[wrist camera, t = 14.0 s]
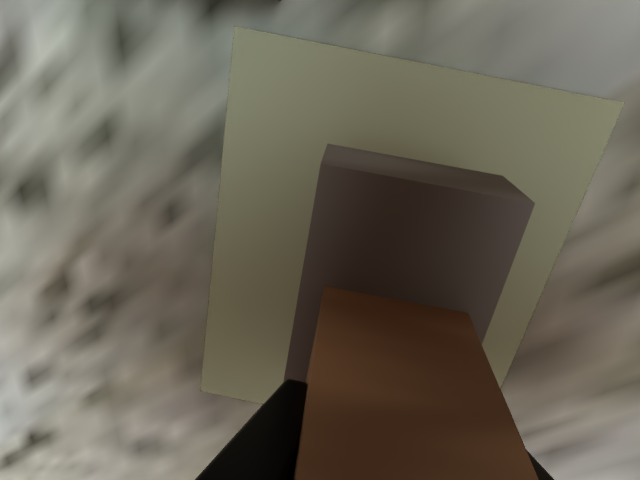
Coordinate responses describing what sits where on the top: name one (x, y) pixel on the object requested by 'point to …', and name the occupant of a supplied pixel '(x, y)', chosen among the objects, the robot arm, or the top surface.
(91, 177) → the top surface
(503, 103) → the mat
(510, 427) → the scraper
